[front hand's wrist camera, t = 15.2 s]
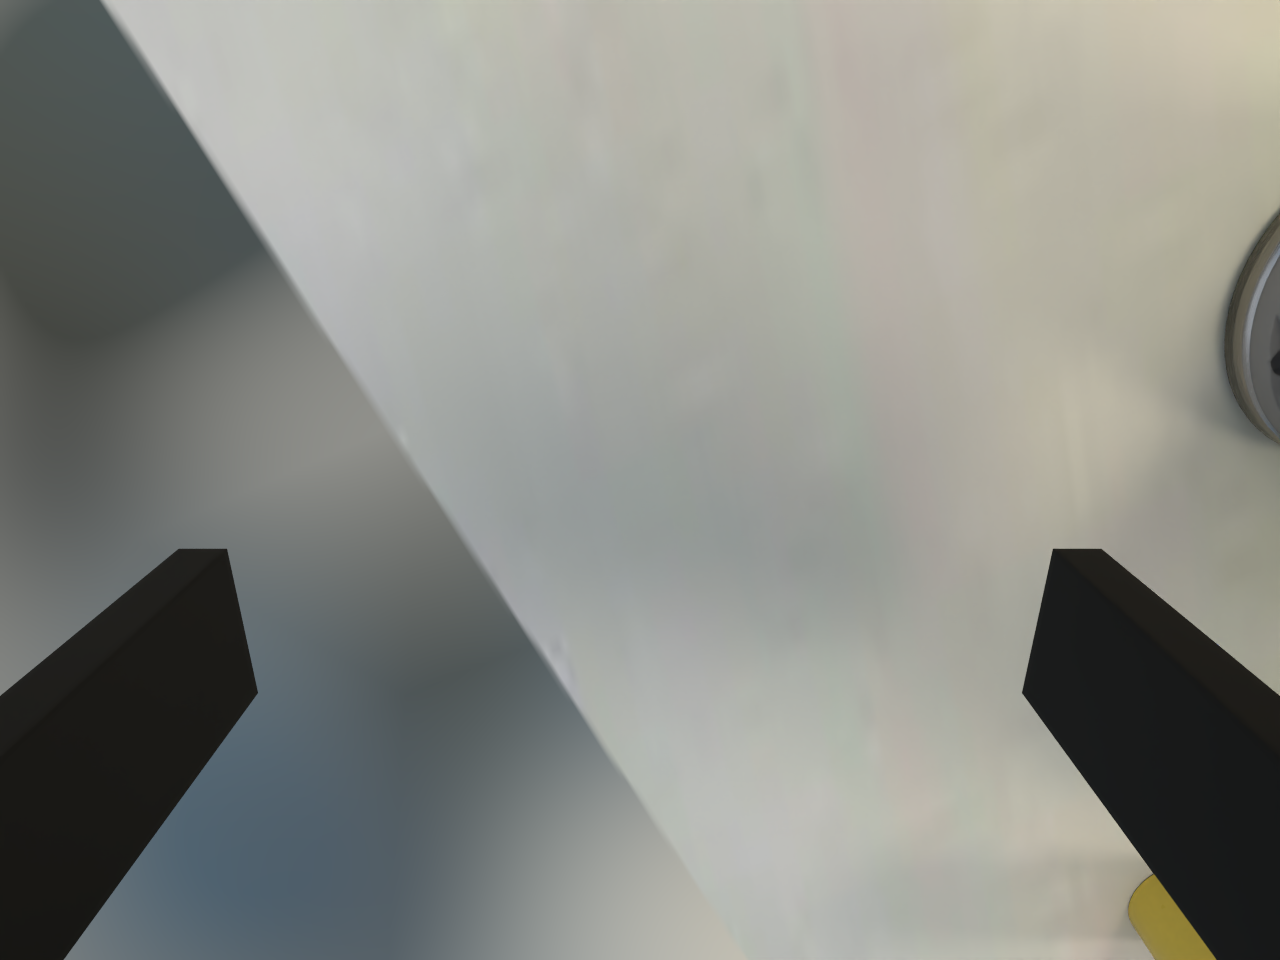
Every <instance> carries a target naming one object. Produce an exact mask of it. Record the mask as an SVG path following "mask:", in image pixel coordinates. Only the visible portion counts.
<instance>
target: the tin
mask: <svg viewBox="0 0 1280 960" xmlns="http://www.w3.org/2000/svg"><path fill="white" fill-rule="evenodd" d="M1128 914H1129V919H1130V921H1131V923H1132V925H1133V927H1134V928H1135V930H1136V931H1137V933H1138V934H1139V936H1140V937H1141V939H1142V940H1143V942H1144V943H1145V945H1146V947H1147V948H1148V950H1149V951H1150V953H1151V954H1152V956H1153V957H1154V959H1155V960H1216V958H1215V957H1214V956H1213V954H1212V953H1211V952H1210V950H1209V949H1208V947H1207V946H1206V945H1205V943H1204V942H1203V941H1202V939H1201V938H1200V936H1199V935H1198V934H1197V932H1196V931H1195V930H1194V928H1193V927H1192V925H1191V924H1190V923H1189V921H1188V920H1187V919H1186V917H1185V916H1184V914H1183V913H1182V912H1181V910H1180V909H1179V908H1178V906H1177V905H1176V904H1175V902H1174V901H1173V899H1172V898H1171V897H1170V895H1169V894H1168V893H1167V891H1166V890H1165V888H1164V887H1163V886H1162V884H1161V883H1160V882H1159V880H1158V879H1157V877H1156V876H1155V875H1154V874H1153V875H1152V876H1150V877H1149V878H1147V879H1146V880H1145V881H1144V882H1143V883H1142V884H1141V885H1140V886H1139V887H1138V888H1137V889H1136V891H1135V892H1134V894H1133V896H1132V898H1131V900H1130V903H1129V908H1128Z"/></svg>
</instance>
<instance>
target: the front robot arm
mask: <svg viewBox="0 0 1280 960" xmlns="http://www.w3.org/2000/svg"><path fill="white" fill-rule="evenodd" d="M1225 360H1226V368H1227V374H1228V378H1229V382H1230V385H1231V388H1232V390H1233V393H1234V396H1235V398H1236V400H1237V402H1238V403H1239V405H1240V407H1241V409H1242V410H1243V412H1244V413H1245V415H1246V416H1247V417H1248V419H1249V420H1250V421H1251V422H1252V423H1253V424H1254V425H1255V426H1256V427H1257V428H1258V429H1259V430H1260V431H1261V432H1262V433H1264V434H1265V435H1266V436H1267V437H1269V438H1270V439H1272V440H1274V441H1275V442H1277V443H1278V444H1280V214H1279V215H1278V216H1277V218H1276V219H1275V220H1274V221H1273V223H1272V224H1271V225H1270V226H1269V228H1268V229H1267V231H1266V232H1265V233H1264V235H1263V236H1262V238H1261V239H1260V241H1259V242H1258V244H1257V245H1256V247H1255V249H1254V251H1253V252H1252V254H1251V256H1250V257H1249V259H1248V261H1247V263H1246V265H1245V267H1244V269H1243V271H1242V274H1241V276H1240V278H1239V281H1238V283H1237V286H1236V289H1235V291H1234V294H1233V298H1232V301H1231V305H1230V308H1229V313H1228V318H1227V323H1226V332H1225ZM257 693H258V691H257V686H256V682H255V677H254V672H253V668H252V663H251V658H250V654H249V649H248V645H247V640H246V635H245V631H244V626H243V621H242V617H241V612H240V607H239V603H238V598H237V593H236V589H235V584H234V579H233V575H232V570H231V565H230V561H229V556H228V552H227V549H178V550H177V551H176V552H174V553H173V554H172V555H171V556H169V557H168V558H167V559H166V560H165V561H163V562H162V563H161V564H160V565H159V566H157V567H156V568H155V569H154V570H152V571H151V572H150V573H149V574H148V575H146V576H145V577H144V578H143V579H142V580H140V581H139V582H138V583H137V584H136V585H134V586H133V587H132V588H131V589H129V590H128V591H127V592H126V593H125V594H123V595H122V596H121V597H120V598H119V599H117V600H116V601H115V602H114V603H112V604H111V605H110V606H109V607H108V608H106V609H105V610H104V611H103V612H102V613H100V614H99V615H98V616H97V617H95V618H94V619H93V620H92V621H91V622H89V623H88V624H87V625H86V626H85V627H83V628H82V629H81V630H80V631H78V632H77V633H76V634H75V635H74V636H72V637H71V638H70V639H69V640H68V641H66V642H65V643H64V644H63V645H62V646H60V647H59V648H58V649H57V650H55V651H54V652H53V653H52V654H51V655H49V656H48V657H47V658H46V659H45V660H43V661H42V662H41V663H40V664H38V665H37V666H36V667H35V668H34V669H32V670H31V671H30V672H29V673H28V674H26V675H25V676H24V677H23V678H21V679H20V680H19V681H18V682H17V683H15V684H14V685H13V686H12V687H11V688H9V689H8V690H7V691H6V692H5V693H3V694H2V695H1V696H0V960H64V958H65V957H66V956H67V954H68V953H69V951H70V950H71V949H72V947H73V946H74V945H75V943H76V942H77V941H78V939H79V938H80V936H81V935H82V934H83V932H84V931H85V930H86V928H87V927H88V925H89V924H90V923H91V921H92V920H93V919H94V917H95V916H96V914H97V913H98V912H99V910H100V909H101V908H102V906H103V905H104V904H105V902H106V901H107V899H108V898H109V897H110V895H111V894H112V893H113V891H114V890H115V888H116V887H117V886H118V884H119V883H120V882H121V880H122V879H123V877H124V876H125V875H126V873H127V872H128V871H129V869H130V868H131V866H132V865H133V864H134V862H135V861H136V860H137V858H138V857H139V855H140V854H141V853H142V851H143V850H144V848H145V847H146V846H147V844H148V843H149V842H150V840H151V839H152V838H153V836H154V835H155V833H156V832H157V831H158V829H159V828H160V827H161V825H162V824H163V823H164V821H165V820H166V818H167V817H168V816H169V814H170V813H171V811H172V810H173V809H174V807H175V806H176V805H177V803H178V802H179V801H180V799H181V798H182V796H183V795H184V794H185V792H186V791H187V790H188V788H189V787H190V785H191V784H192V783H193V781H194V780H195V779H196V777H197V776H198V775H199V773H200V772H201V770H202V769H203V768H204V766H205V765H206V763H207V762H208V761H209V759H210V758H211V757H212V755H213V754H214V753H215V751H216V750H217V748H218V747H219V746H220V744H221V743H222V742H223V740H224V739H225V737H226V736H227V735H228V733H229V732H230V731H231V729H232V728H233V726H234V725H235V724H236V722H237V721H238V720H239V718H240V717H241V716H242V714H243V713H244V711H245V710H246V709H247V707H248V706H249V705H250V703H251V702H252V700H253V699H254V698H255V696H256V695H257ZM1022 694H1023V695H1024V696H1025V698H1026V699H1027V700H1028V702H1029V703H1030V705H1031V706H1032V707H1033V709H1034V710H1035V711H1036V713H1037V714H1038V716H1039V717H1040V718H1041V720H1042V721H1043V722H1044V724H1045V725H1046V726H1047V728H1048V729H1049V731H1050V732H1051V733H1052V735H1053V736H1054V737H1055V739H1056V740H1057V742H1058V743H1059V744H1060V746H1061V747H1062V748H1063V750H1064V751H1065V753H1066V754H1067V755H1068V757H1069V758H1070V759H1071V761H1072V762H1073V764H1074V765H1075V766H1076V768H1077V769H1078V770H1079V772H1080V773H1081V775H1082V776H1083V777H1084V779H1085V780H1086V781H1087V783H1088V784H1089V785H1090V787H1091V788H1092V790H1093V791H1094V792H1095V794H1096V795H1097V796H1098V798H1099V799H1100V801H1101V802H1102V803H1103V805H1104V806H1105V807H1106V809H1107V810H1108V812H1109V813H1110V814H1111V816H1112V817H1113V818H1114V820H1115V821H1116V823H1117V824H1118V825H1119V827H1120V828H1121V829H1122V831H1123V832H1124V834H1125V835H1126V836H1127V838H1128V839H1129V840H1130V842H1131V843H1132V844H1133V846H1134V847H1135V849H1136V850H1137V851H1138V853H1139V854H1140V855H1141V857H1142V858H1143V860H1144V861H1145V862H1146V864H1147V865H1148V866H1149V868H1150V869H1151V871H1152V872H1153V873H1154V875H1155V876H1156V877H1157V879H1158V880H1159V882H1160V883H1161V884H1162V886H1163V887H1164V888H1165V890H1166V891H1167V893H1168V894H1169V895H1170V897H1171V898H1172V899H1173V901H1174V902H1175V904H1176V905H1177V906H1178V908H1179V909H1180V910H1181V912H1182V913H1183V914H1184V916H1185V917H1186V919H1187V920H1188V921H1189V923H1190V924H1191V925H1192V927H1193V928H1194V930H1195V931H1196V932H1197V934H1198V935H1199V936H1200V938H1201V939H1202V941H1203V942H1204V943H1205V945H1206V946H1207V947H1208V949H1209V950H1210V952H1211V953H1212V954H1213V956H1214V957H1215V958H1216V960H1280V696H1279V695H1278V694H1277V693H1276V692H1274V691H1273V690H1272V689H1271V688H1269V687H1268V686H1267V685H1266V684H1265V683H1263V682H1262V681H1261V680H1260V679H1259V678H1257V677H1256V676H1255V675H1254V674H1252V673H1251V672H1250V671H1249V670H1248V669H1246V668H1245V667H1244V666H1243V665H1242V664H1240V663H1239V662H1238V661H1237V660H1236V659H1234V658H1233V657H1232V656H1231V655H1229V654H1228V653H1227V652H1226V651H1225V650H1223V649H1222V648H1221V647H1220V646H1219V645H1217V644H1216V643H1215V642H1214V641H1212V640H1211V639H1210V638H1209V637H1208V636H1206V635H1205V634H1204V633H1203V632H1202V631H1200V630H1199V629H1198V628H1197V627H1195V626H1194V625H1193V624H1192V623H1191V622H1189V621H1188V620H1187V619H1186V618H1185V617H1183V616H1182V615H1181V614H1180V613H1178V612H1177V611H1176V610H1175V609H1174V608H1172V607H1171V606H1170V605H1169V604H1168V603H1166V602H1165V601H1164V600H1163V599H1161V598H1160V597H1159V596H1158V595H1157V594H1155V593H1154V592H1153V591H1152V590H1151V589H1149V588H1148V587H1147V586H1146V585H1145V584H1143V583H1142V582H1141V581H1140V580H1138V579H1137V578H1136V577H1135V576H1134V575H1132V574H1131V573H1130V572H1129V571H1128V570H1126V569H1125V568H1124V567H1123V566H1121V565H1120V564H1119V563H1118V562H1117V561H1115V560H1114V559H1113V558H1112V557H1111V556H1109V555H1108V554H1107V553H1106V552H1104V551H1103V550H1102V549H1053V552H1052V556H1051V561H1050V565H1049V570H1048V575H1047V579H1046V584H1045V589H1044V593H1043V598H1042V603H1041V607H1040V612H1039V617H1038V621H1037V626H1036V631H1035V635H1034V640H1033V644H1032V649H1031V654H1030V658H1029V663H1028V668H1027V672H1026V677H1025V682H1024V686H1023V691H1022Z"/></svg>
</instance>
